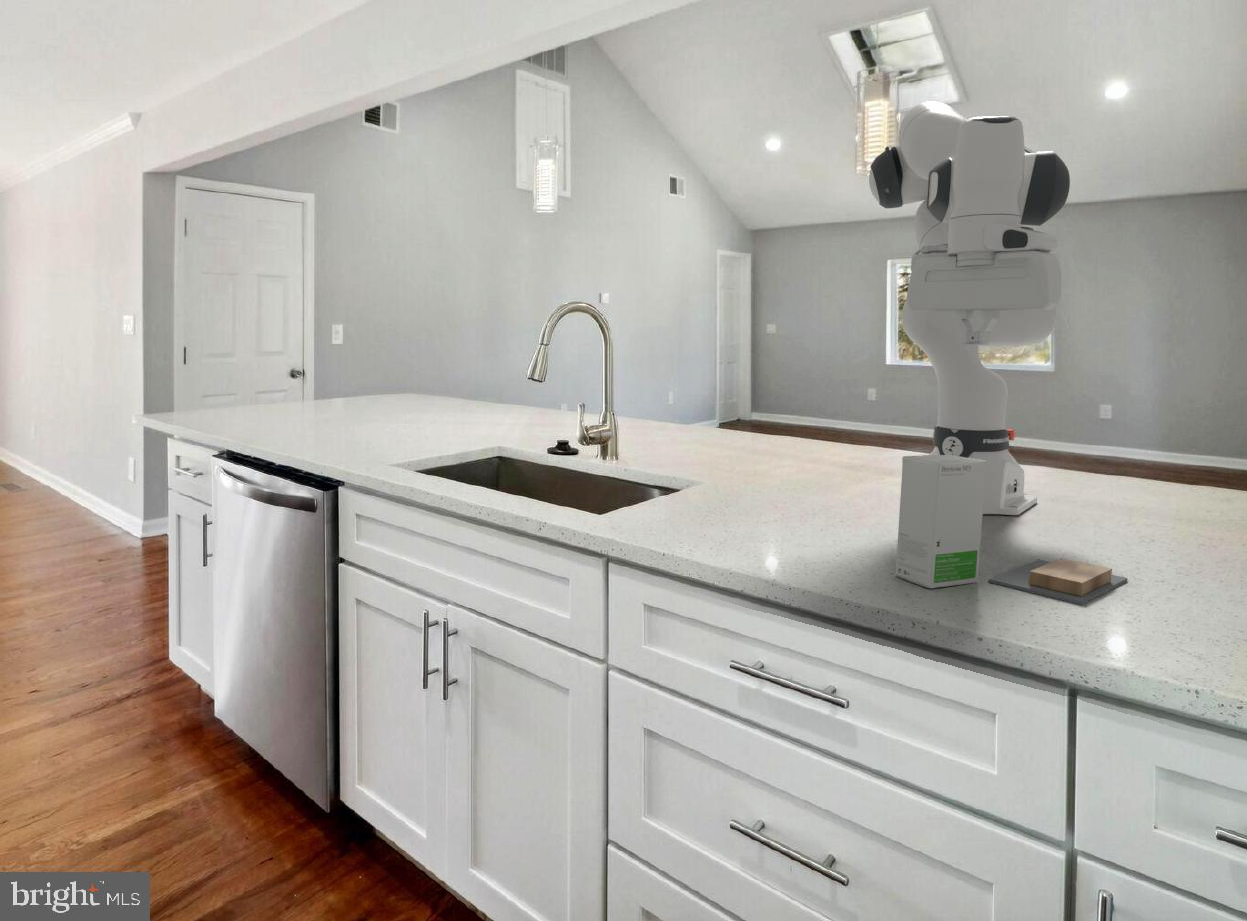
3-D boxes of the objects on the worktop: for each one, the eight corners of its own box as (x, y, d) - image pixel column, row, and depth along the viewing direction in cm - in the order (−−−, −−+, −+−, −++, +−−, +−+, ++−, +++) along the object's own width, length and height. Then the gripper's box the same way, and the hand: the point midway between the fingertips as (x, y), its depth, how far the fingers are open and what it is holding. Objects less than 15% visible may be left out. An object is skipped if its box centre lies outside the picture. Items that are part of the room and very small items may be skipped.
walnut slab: (1061, 558, 106) (1112, 568, 102) (1060, 571, 106) (1110, 582, 102) (1029, 571, 100) (1082, 582, 96) (1028, 584, 101) (1080, 596, 96)
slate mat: (1037, 562, 112) (1038, 559, 112) (1127, 581, 104) (1127, 578, 104) (988, 581, 103) (988, 578, 103) (1081, 604, 95) (1081, 601, 95)
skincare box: (929, 590, 100) (937, 463, 97) (891, 575, 106) (898, 455, 103) (980, 582, 103) (990, 459, 100) (941, 568, 109) (949, 451, 106)
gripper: (900, 245, 117) (895, 343, 119) (1049, 233, 102) (1040, 346, 104) (924, 248, 121) (918, 343, 123) (1071, 236, 106) (1061, 345, 108)
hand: (975, 344), depth 114 cm, fingers closed
